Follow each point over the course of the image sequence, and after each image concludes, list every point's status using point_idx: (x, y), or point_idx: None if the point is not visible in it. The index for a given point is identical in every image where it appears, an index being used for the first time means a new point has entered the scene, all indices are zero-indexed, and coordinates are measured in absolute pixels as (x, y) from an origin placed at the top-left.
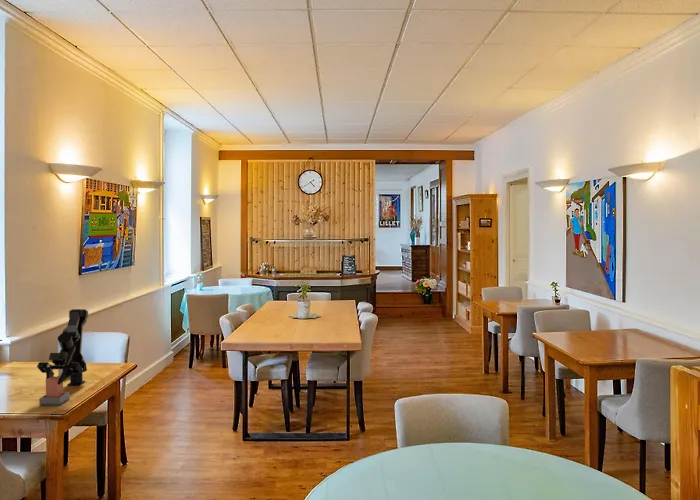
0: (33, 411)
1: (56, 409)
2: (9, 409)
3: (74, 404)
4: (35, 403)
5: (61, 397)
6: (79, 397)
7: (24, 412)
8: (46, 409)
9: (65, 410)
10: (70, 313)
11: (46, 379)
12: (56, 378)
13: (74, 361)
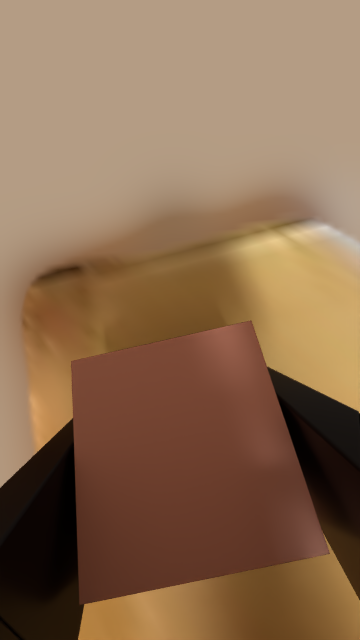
0: (196, 270)
1: (97, 325)
2: (355, 257)
3: (43, 430)
4: (314, 382)
5: None
6: (97, 617)
7: (229, 248)
8: (152, 311)
9: (40, 325)
10: None
11: (246, 331)
12: (120, 428)
13: None
